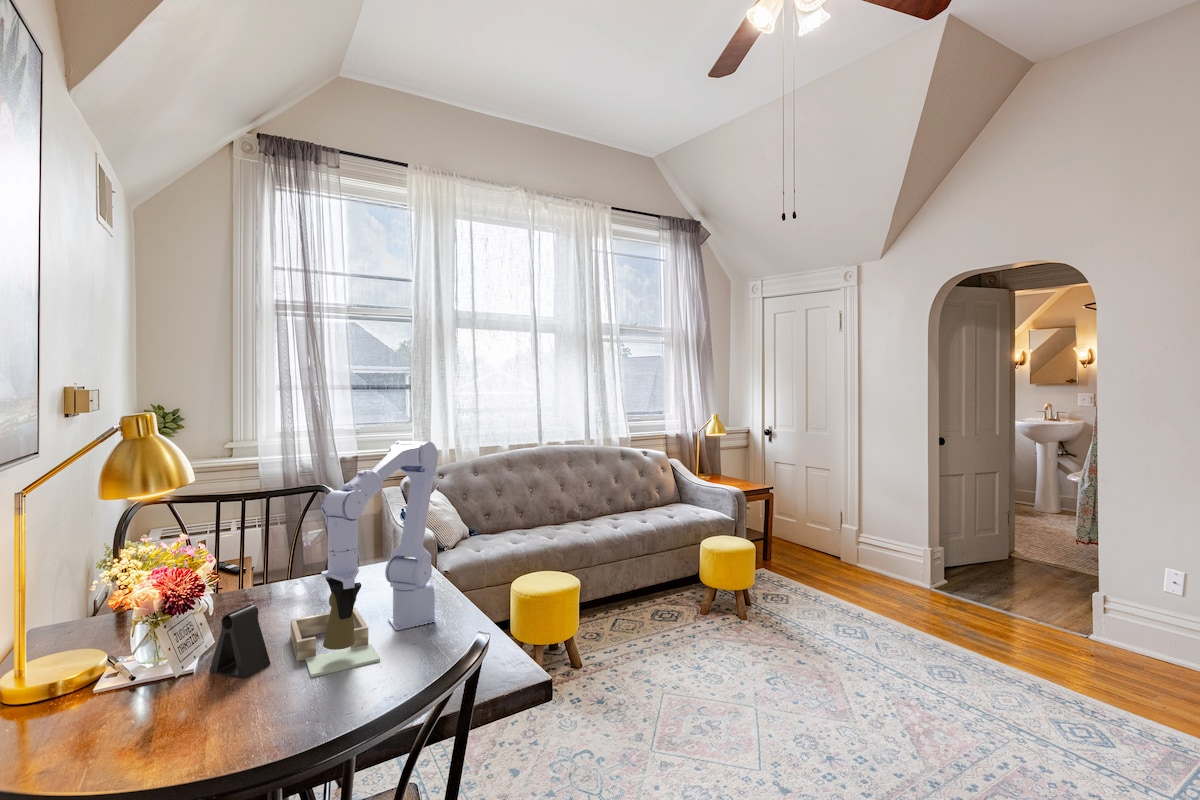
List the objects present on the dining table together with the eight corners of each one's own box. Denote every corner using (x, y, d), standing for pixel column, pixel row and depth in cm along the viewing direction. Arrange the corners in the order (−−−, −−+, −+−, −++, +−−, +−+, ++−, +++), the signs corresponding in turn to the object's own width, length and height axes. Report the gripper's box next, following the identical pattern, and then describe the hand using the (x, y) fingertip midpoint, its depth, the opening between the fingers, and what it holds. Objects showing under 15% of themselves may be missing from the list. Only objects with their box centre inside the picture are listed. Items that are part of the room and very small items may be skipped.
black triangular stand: (270, 665, 119) (270, 606, 119) (245, 678, 113) (245, 617, 113) (235, 659, 121) (235, 602, 121) (209, 673, 115) (209, 613, 115)
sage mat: (371, 646, 128) (371, 643, 128) (380, 661, 121) (380, 658, 121) (305, 660, 121) (305, 658, 121) (310, 677, 114) (310, 674, 114)
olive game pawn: (342, 651, 117) (347, 596, 117) (316, 646, 118) (320, 592, 118) (360, 640, 122) (365, 588, 123) (335, 636, 124) (340, 584, 124)
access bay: (356, 624, 140) (356, 607, 140) (368, 645, 128) (368, 627, 128) (290, 637, 132) (290, 620, 132) (297, 661, 120) (297, 642, 120)
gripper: (316, 543, 124) (316, 606, 124) (327, 559, 112) (327, 629, 112) (352, 539, 128) (352, 600, 128) (365, 554, 116) (365, 622, 116)
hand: (342, 613), depth 120 cm, fingers closed on olive game pawn, 5 cm apart
